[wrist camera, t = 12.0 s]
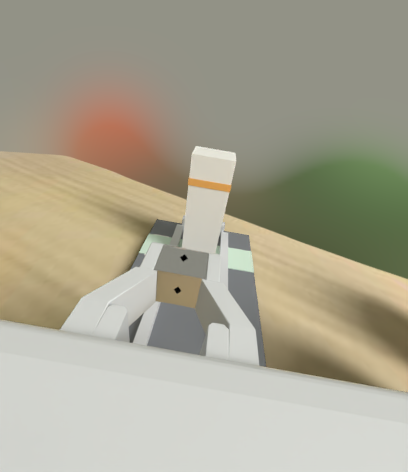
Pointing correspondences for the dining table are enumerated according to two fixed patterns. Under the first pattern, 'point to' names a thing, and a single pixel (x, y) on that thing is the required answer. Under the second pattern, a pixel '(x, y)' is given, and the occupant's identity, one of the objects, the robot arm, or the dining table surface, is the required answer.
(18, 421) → the robot arm
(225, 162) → the fader
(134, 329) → the grey slider track base
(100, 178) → the dining table surface
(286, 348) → the dining table surface
